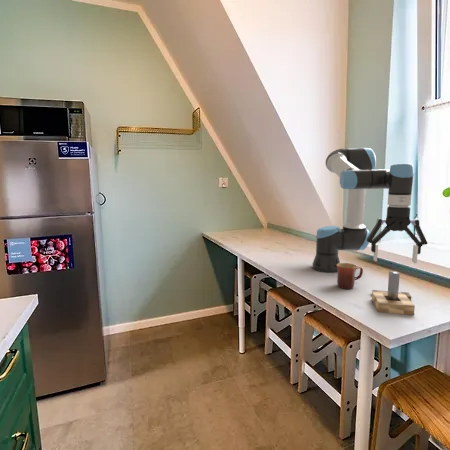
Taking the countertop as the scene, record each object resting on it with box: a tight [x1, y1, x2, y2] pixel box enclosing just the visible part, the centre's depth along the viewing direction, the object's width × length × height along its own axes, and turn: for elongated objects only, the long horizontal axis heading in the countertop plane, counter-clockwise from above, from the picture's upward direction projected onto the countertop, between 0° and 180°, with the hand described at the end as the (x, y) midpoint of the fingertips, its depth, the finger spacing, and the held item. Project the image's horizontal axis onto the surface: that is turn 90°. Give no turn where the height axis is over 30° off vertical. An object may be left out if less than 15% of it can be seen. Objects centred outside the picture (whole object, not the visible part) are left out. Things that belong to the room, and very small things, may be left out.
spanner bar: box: [371, 289, 412, 302], centre depth 130 cm, size 14×5×2 cm, turn 71°
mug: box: [336, 262, 364, 290], centre depth 142 cm, size 12×9×10 cm
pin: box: [387, 270, 401, 301], centre depth 119 cm, size 4×4×14 cm
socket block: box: [371, 292, 416, 316], centre depth 120 cm, size 12×12×4 cm
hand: (394, 261), depth 118 cm, fingers open, 13 cm apart
